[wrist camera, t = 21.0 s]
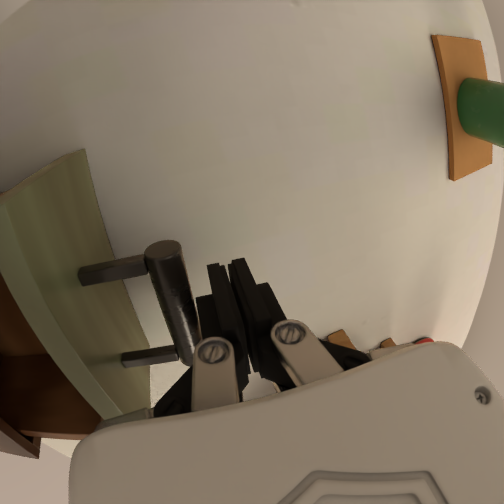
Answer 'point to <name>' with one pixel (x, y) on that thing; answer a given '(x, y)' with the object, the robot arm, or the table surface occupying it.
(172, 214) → the table surface
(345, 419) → the robot arm
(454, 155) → the mat
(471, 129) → the green can
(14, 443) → the cabinet
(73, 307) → the drawer
